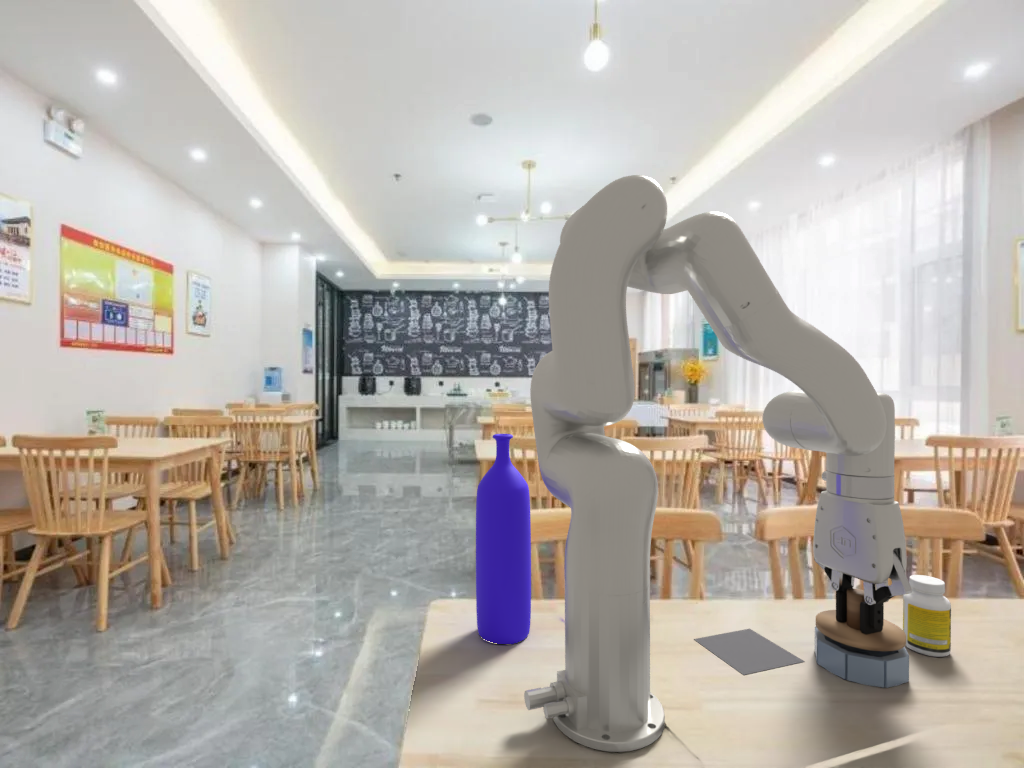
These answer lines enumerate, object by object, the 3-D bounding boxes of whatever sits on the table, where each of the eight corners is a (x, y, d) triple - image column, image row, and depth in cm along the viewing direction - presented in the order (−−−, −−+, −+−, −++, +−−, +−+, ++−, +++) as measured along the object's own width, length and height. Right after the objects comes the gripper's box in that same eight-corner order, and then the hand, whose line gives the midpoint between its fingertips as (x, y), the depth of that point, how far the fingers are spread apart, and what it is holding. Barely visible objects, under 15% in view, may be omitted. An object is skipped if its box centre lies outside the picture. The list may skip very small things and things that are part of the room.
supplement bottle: (959, 660, 74) (960, 588, 73) (914, 656, 75) (915, 585, 75) (937, 641, 79) (937, 573, 79) (895, 637, 80) (895, 571, 80)
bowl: (868, 699, 65) (868, 666, 65) (798, 658, 74) (798, 629, 74) (925, 683, 68) (925, 651, 68) (851, 646, 78) (851, 618, 78)
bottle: (541, 629, 83) (540, 433, 83) (512, 652, 76) (511, 438, 76) (496, 616, 88) (495, 430, 87) (465, 637, 81) (463, 435, 80)
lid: (866, 657, 65) (866, 613, 65) (798, 621, 75) (798, 583, 74) (925, 643, 68) (925, 602, 68) (853, 611, 78) (853, 575, 78)
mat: (743, 679, 69) (743, 674, 69) (693, 643, 79) (693, 639, 79) (804, 665, 72) (804, 661, 72) (749, 632, 82) (749, 628, 82)
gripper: (787, 477, 78) (786, 605, 78) (900, 501, 62) (899, 661, 62) (827, 474, 80) (826, 598, 80) (946, 497, 65) (945, 651, 65)
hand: (858, 624), depth 71 cm, fingers closed on lid, 2 cm apart
